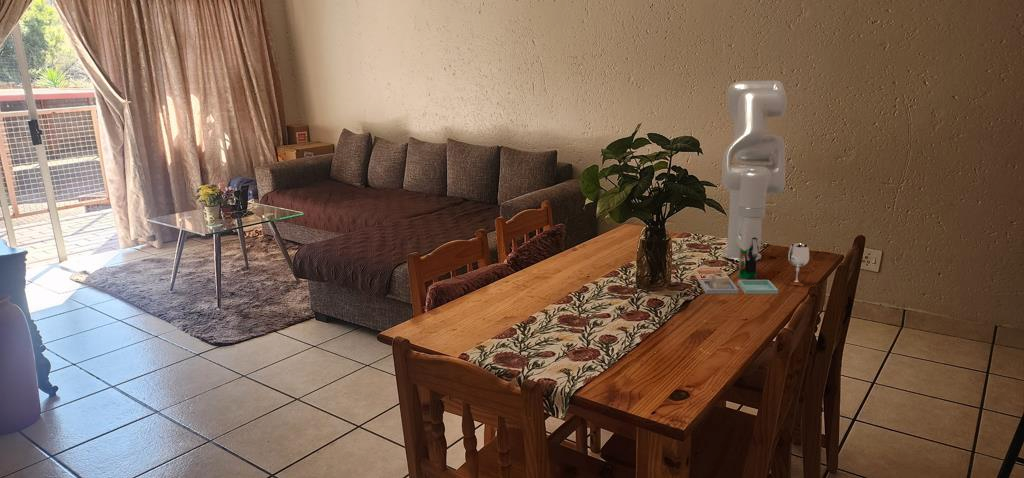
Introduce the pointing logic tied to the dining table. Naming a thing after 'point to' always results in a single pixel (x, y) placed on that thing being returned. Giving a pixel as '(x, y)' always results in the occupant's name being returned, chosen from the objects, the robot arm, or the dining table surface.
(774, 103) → the robot arm
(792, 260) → the wineglass
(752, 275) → the soda can
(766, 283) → the tray teal
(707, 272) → the tray terracotta
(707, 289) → the tray slate
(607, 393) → the dining table surface
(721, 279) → the letter cube
